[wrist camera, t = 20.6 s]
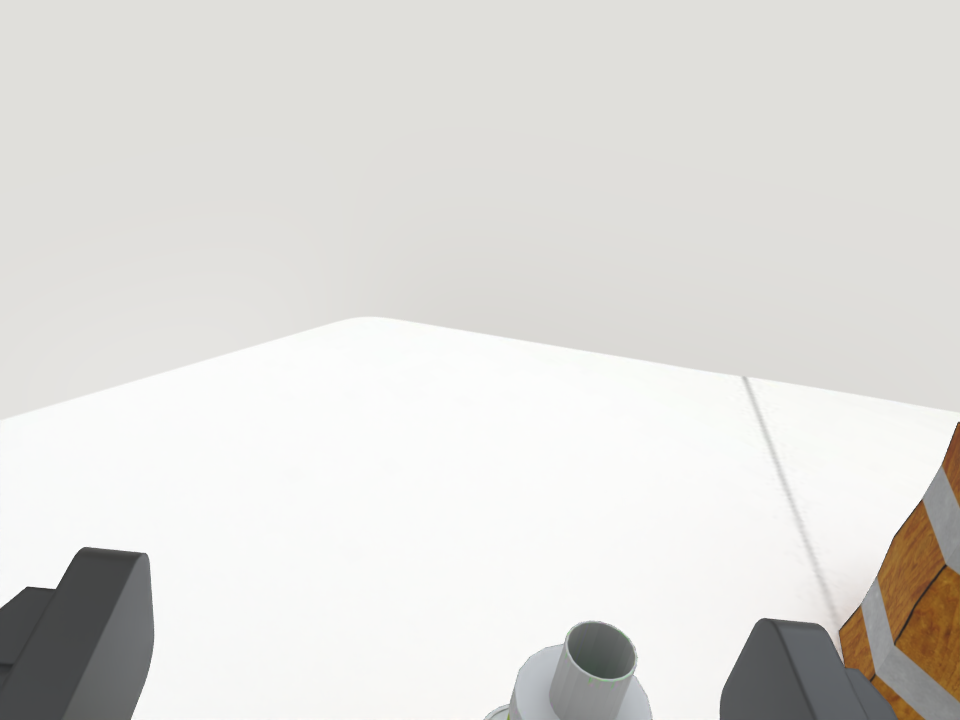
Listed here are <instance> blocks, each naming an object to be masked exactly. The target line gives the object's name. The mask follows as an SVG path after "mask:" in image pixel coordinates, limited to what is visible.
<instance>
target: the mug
mask: <svg viewBox="0 0 960 720" xmlns="http://www.w3.org/2000/svg"><path fill="white" fill-rule="evenodd" d="M839 634H840V640H841V646H842V651H843V657H844V663H845V668H854V669H859V670H860V671H861V672H862V673H863V675H864V676H865V677H866V678H867V679H868V680H869V681H870V682H871V683H872V685H873V686H874V687H875V688H876V689H877V690H878V691H879V692H880V694H881V695H882V696H883V697H884V698H885V699H886V700H887V701H888V702H889V704H890V705H891V706H892V708H893V710H894V712H895V714H896V716H897V718H898V720H960V422H958V423H957V426H956V428H955V431H954V434H953V436H952V439H951V441H950V444H949V447H948V449H947V452H946V455H945V457H944V460H943V462H942V465H941V467H940V468H939V470H938V472H937V474H936V475H935V477H934V479H933V481H932V482H931V484H930V486H929V488H928V489H927V491H926V493H925V495H924V496H923V498H922V500H921V501H920V502H919V504H918V505H917V506H916V508H915V509H914V510H913V512H912V513H911V514H910V516H909V517H908V518H907V520H906V521H905V522H904V524H903V525H902V526H901V528H900V529H899V530H898V532H897V533H896V534H895V536H894V538H893V540H892V542H891V545H890V547H889V549H888V552H887V554H886V556H885V558H884V561H883V563H882V565H881V568H880V570H879V572H878V575H877V577H876V579H875V580H874V582H873V584H872V586H871V587H870V589H869V591H868V593H867V594H866V596H865V598H864V600H863V601H862V603H861V605H860V606H859V607H858V608H857V609H856V611H855V612H854V613H853V614H852V615H851V617H850V618H849V619H848V620H847V622H846V623H845V624H844V625H843V626H842V628H841V629H840V630H839Z"/></svg>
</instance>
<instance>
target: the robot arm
mask: <svg viewBox="0 0 960 720" xmlns="http://www.w3.org/2000/svg"><path fill="white" fill-rule="evenodd" d="M153 645H154V620H153V605H152V591H151V576H150V563H149V558H148V555H147V554H146V553H139V552H130V551H120V550H110V549H100V548H90V547H84V548H82V549H80V550H79V551H78V552H77V554H76V555H75V556H74V558H73V560H72V561H71V563H70V565H69V567H68V568H67V570H66V572H65V574H64V576H63V577H62V579H61V581H60V583H59V584H58V586H57V588H56V589H47V588H37V587H26V588H25V589H24V590H22V591H21V592H20V593H19V594H18V595H16V596H15V597H14V598H13V599H11V600H10V601H9V602H8V603H7V604H5V605H4V606H3V607H2V608H1V609H0V720H131V717H132V715H133V712H134V710H135V707H136V704H137V702H138V699H139V697H140V694H141V692H142V689H143V686H144V684H145V681H146V678H147V674H148V671H149V667H150V663H151V658H152V652H153ZM720 720H898V718H897V716H896V714H895V712H894V710H893V708H892V706H891V705H890V704H889V702H888V701H887V700H886V699H885V698H884V697H883V696H882V695H881V694H880V692H879V691H878V690H877V689H876V688H875V687H874V686H873V685H872V683H871V682H870V681H869V680H868V679H867V678H866V677H865V676H864V675H863V673H862V672H861V671H860V670H859V669H854V668H845V667H844V665H843V663H842V661H841V659H840V657H839V655H838V653H837V650H836V648H835V646H834V644H833V642H832V640H831V638H830V636H829V634H828V633H827V631H826V630H825V629H824V628H823V627H822V626H821V625H819V624H816V623H807V622H797V621H787V620H777V619H767V618H763V619H760V620H759V621H758V622H757V623H756V624H755V626H754V628H753V630H752V632H751V634H750V636H749V638H748V640H747V642H746V644H745V646H744V648H743V650H742V652H741V654H740V656H739V658H738V660H737V662H736V664H735V666H734V668H733V670H732V672H731V674H730V676H729V678H728V680H727V682H726V684H725V686H724V688H723V691H722V695H721V701H720Z"/></svg>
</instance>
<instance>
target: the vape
mask: <svg viewBox="0 0 960 720" xmlns="http://www.w3.org/2000/svg"><path fill="white" fill-rule="evenodd" d="M637 658H638V657H637V653H636V649H635V647H634V645H633V644H632V642H631V640H630V639H629V638H628V637H627V636H626V635H625V634H624V633H623V632H622V631H621V630H619V629H617V628H616V627H614V626H612V625H610V624H607V623H604V622H600V621H586V622H581V623H579V624H577V625H575V626H574V627H572V628H571V630H570V631H569V632H568V633H567V636H566V639H565V642H564V644H561V645H556V646H551V647H546V648H544V649H542V650H541V651H539V652H537V653H536V654H534V655H532V656H530V657H529V659H528V660H527V661H526V662H525V664H524V665H523V666H522V667H521V669H520V670H519V672H518V675H517V679H516V682H515V686H514V689H513V693H512V697H511V700H510V704H508V705H504V706H501V707H499V708H497V709H495V710H493V711H492V712H490V713H489V714H488V715H487V716H486V717H485V718H484V720H652V713H651V709H650V705H649V701H648V697H647V695H646V693H645V691H644V690H643V688H642V686H641V685H640V683H639V681H638V679H637V678H636V677H635V676H634V675H633V674H634V671H635V669H636V665H637Z"/></svg>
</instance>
